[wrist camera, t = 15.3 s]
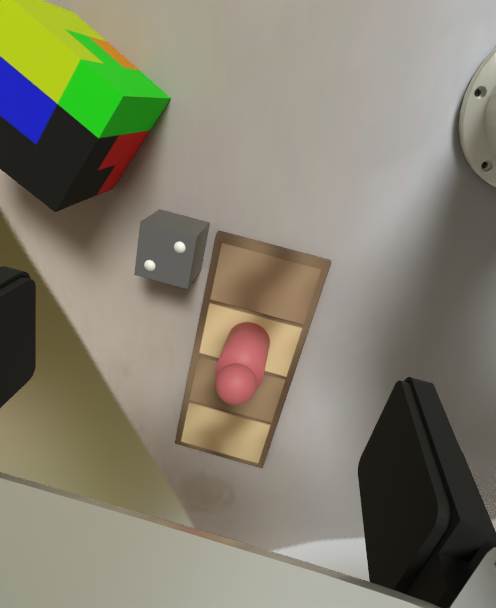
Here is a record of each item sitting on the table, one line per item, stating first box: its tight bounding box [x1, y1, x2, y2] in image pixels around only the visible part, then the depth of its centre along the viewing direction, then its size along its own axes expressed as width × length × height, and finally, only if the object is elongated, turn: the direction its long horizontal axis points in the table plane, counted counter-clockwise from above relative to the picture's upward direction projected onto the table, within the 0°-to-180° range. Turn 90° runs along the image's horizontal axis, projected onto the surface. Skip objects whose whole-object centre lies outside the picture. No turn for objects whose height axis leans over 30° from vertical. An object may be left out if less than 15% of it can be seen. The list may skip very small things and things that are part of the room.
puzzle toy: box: [0, 0, 171, 212], centre depth 33 cm, size 10×10×10 cm
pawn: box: [215, 322, 270, 405], centre depth 40 cm, size 4×4×9 cm
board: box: [175, 231, 331, 468], centre depth 46 cm, size 11×27×1 cm, turn 167°
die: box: [134, 209, 210, 289], centre depth 40 cm, size 5×5×5 cm
